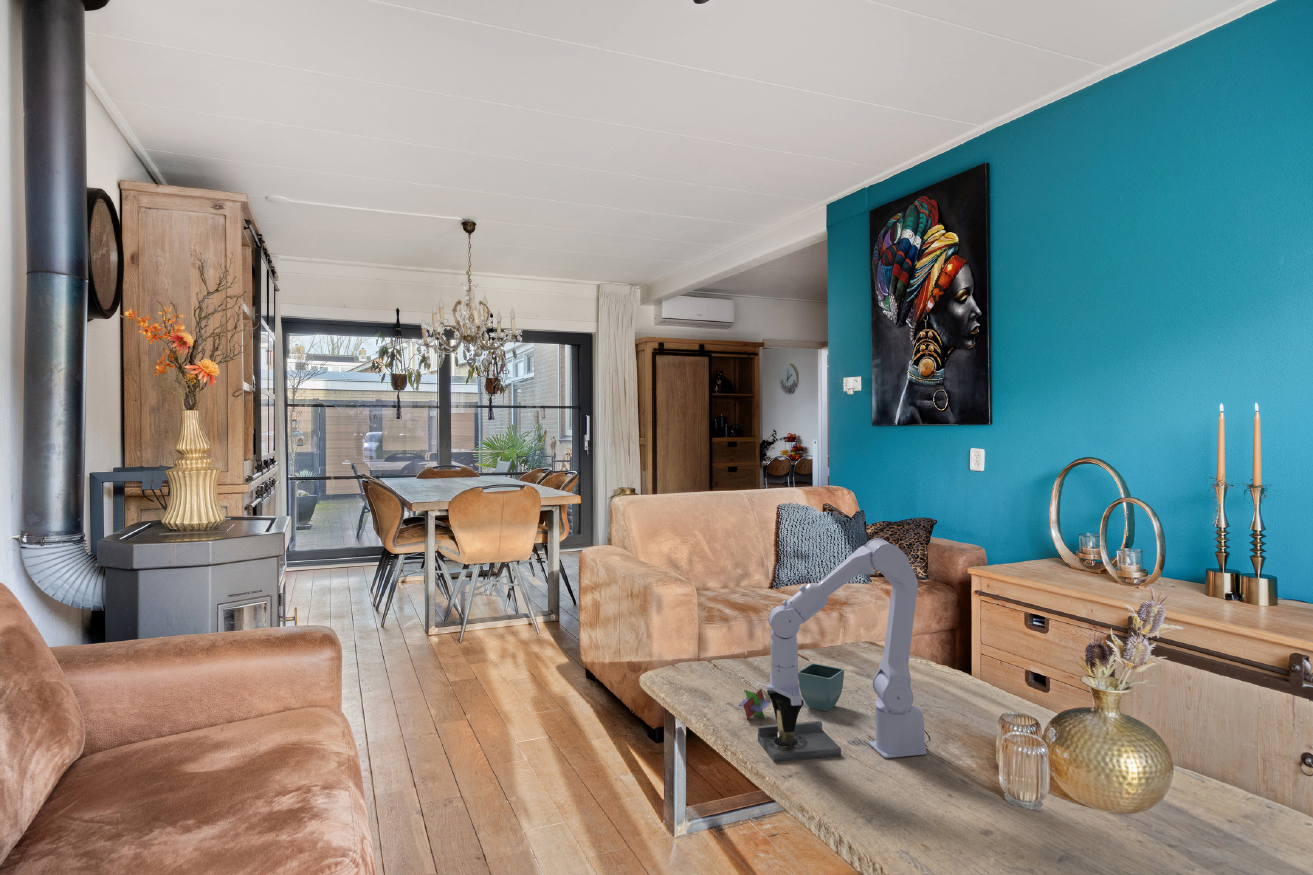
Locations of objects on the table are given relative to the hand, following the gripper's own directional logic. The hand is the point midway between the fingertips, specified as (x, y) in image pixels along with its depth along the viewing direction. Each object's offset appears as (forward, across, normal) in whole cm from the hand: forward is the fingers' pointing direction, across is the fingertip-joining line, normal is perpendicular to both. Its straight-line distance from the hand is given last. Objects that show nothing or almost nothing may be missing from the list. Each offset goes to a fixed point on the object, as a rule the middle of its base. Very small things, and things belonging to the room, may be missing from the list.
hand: (785, 727), depth 158 cm
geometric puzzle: (+5, -19, -1) cm, 20 cm away
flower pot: (+5, -22, +17) cm, 28 cm away
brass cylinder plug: (+2, 0, 0) cm, 2 cm away
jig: (+4, 0, +3) cm, 5 cm away
